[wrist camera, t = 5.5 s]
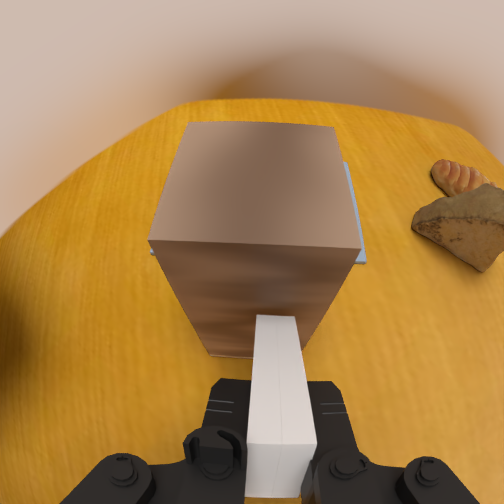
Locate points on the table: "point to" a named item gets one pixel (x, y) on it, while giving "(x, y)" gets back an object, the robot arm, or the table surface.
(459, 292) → the table surface
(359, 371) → the table surface
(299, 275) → the walnut block
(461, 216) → the rock
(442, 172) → the pastry
